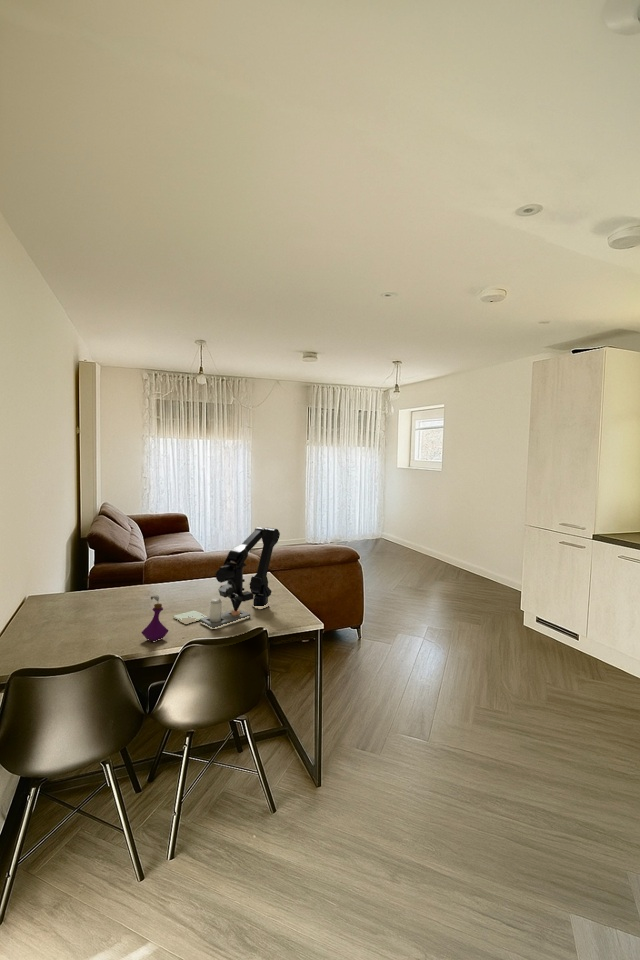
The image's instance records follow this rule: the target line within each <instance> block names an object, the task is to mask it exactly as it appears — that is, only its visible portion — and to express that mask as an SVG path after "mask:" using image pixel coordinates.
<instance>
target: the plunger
mask: <svg viewBox="0 0 640 960" xmlns="http://www.w3.org/2000/svg"><path fill="white" fill-rule="evenodd" d="M230 610H231V615H233V616H237V615H240V610H241V609H240V610H239V608H238V610H237V611H234V610H233V609H230Z"/></svg>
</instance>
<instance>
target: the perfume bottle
mask: <svg viewBox="0 0 640 960" xmlns="http://www.w3.org/2000/svg"><path fill="white" fill-rule="evenodd" d="M150 600H155V601H156V602H159V600H160V596H159V594H154V595H151V596H150ZM152 611H153V612H154V614H153V617H152V619H151V621H150V622H149V624H148V625H147V626H146V627H145V628H144V629H143V630H142V631H141V634H142V635H143V636H144V637H145V638H146V640H147V639H149V640H152V641H156V640H158V639H161V638H163V637H165V636H166V635H167V634H168V632H169V629H168V628H166V626H165V625H163V623H162V622H161V621H160V614H161V612H162V611H164V607H163V604H162V603H155V604H154V607H153V608H152ZM163 639H164V638H163ZM149 640H148V641H149ZM161 640H162V639H161ZM152 641H151V642H152Z"/></svg>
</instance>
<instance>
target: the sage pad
mask: <svg viewBox="0 0 640 960" xmlns="http://www.w3.org/2000/svg"><path fill="white" fill-rule="evenodd" d="M201 615H203V616H204V617H208V616H207V615H206V614H203V613H201V612H199V611H196V610H190V611H187V612H183V613H179V614H175V615H172V618H173V617H175V618H177V619H179V618H180V619H181V620H182V618H188V616H189V617H191V618H196V619H201V618H204V617H203V616H201ZM192 616H193V617H192ZM196 619H195V620H196Z"/></svg>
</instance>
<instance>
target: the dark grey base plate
mask: <svg viewBox="0 0 640 960" xmlns="http://www.w3.org/2000/svg"><path fill="white" fill-rule="evenodd" d="M238 609H239V608H238ZM231 610H234V608H233V609H230V610H226V611H224V612H221V621H220V622H216V623H212V622H210V615H209V616H207V617H206V618H202V619H200V621H199V623H200V622H202V623H205V624H207V625H208V626H210V627H212V628H215V627H218V626H221V625H223V624H227V623H230V622H233V621H236V620H238V619H241V618H245V617H247V616H250V617H251V614H250V613H249V612H247V611H244V610H242V609H239V610H240V614H241V615H237V616H233V615H231Z"/></svg>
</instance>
